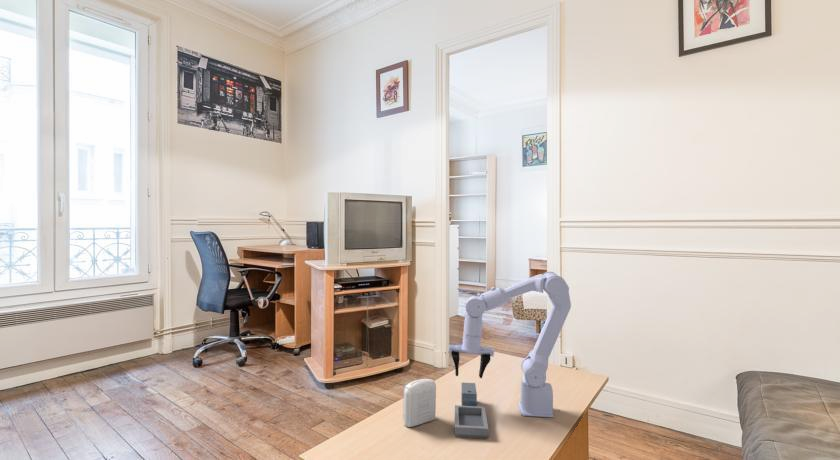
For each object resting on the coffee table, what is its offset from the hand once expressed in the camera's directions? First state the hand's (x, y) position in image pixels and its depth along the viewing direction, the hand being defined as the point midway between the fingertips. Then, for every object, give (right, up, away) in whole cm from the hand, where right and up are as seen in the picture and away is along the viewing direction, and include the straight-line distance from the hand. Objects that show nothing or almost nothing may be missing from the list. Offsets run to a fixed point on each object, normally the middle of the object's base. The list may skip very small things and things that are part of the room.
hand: (468, 375), depth 124 cm
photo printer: (-16, -10, -9) cm, 21 cm away
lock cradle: (-1, -10, -12) cm, 15 cm away
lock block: (0, -10, 0) cm, 10 cm away
